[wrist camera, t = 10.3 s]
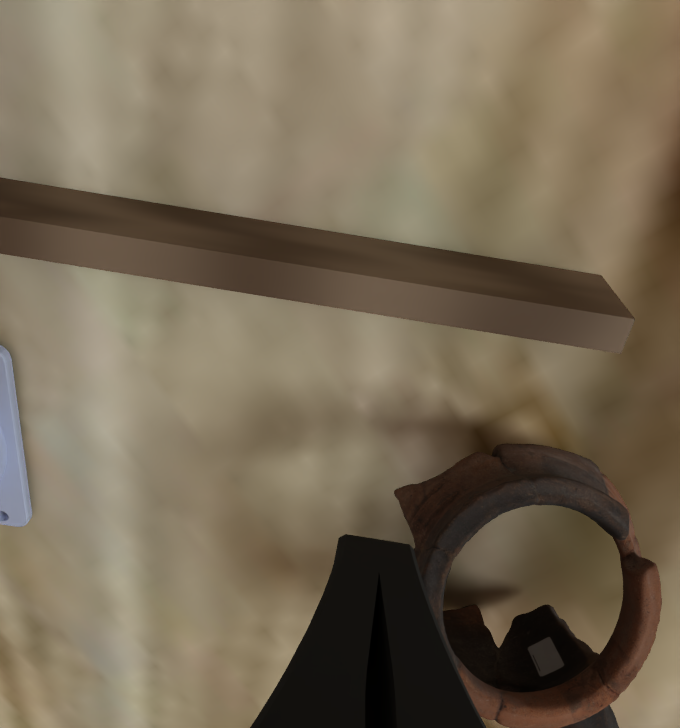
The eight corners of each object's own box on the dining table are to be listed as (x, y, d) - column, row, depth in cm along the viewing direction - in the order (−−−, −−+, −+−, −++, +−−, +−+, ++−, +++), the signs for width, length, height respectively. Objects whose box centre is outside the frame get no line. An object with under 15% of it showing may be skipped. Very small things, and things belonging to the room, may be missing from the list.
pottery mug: (294, 516, 25) (315, 596, 17) (479, 369, 26) (584, 376, 18) (472, 741, 26) (573, 919, 18) (642, 593, 27) (812, 697, 19)
